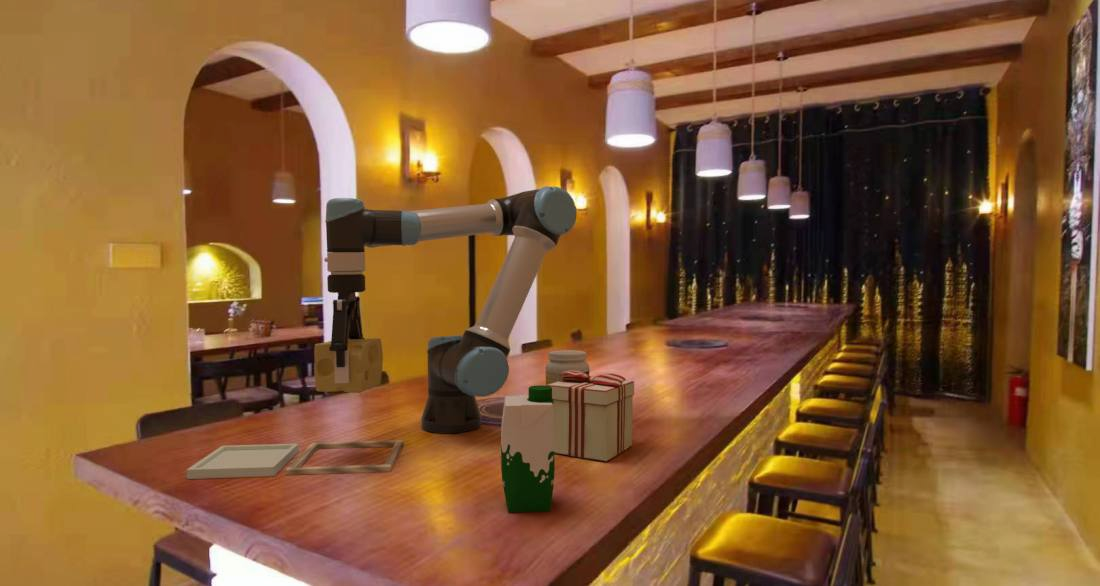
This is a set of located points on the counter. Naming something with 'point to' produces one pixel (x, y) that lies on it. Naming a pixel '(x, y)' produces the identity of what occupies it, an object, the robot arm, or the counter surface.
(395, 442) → the wooden square frame
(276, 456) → the plate
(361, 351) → the cheese
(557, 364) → the supplement tub
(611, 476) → the counter surface
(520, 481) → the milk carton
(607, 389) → the gift box
